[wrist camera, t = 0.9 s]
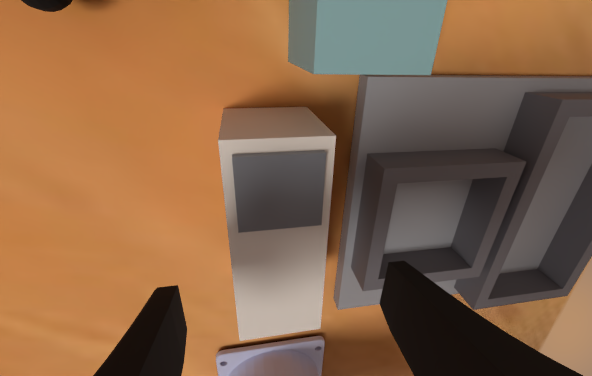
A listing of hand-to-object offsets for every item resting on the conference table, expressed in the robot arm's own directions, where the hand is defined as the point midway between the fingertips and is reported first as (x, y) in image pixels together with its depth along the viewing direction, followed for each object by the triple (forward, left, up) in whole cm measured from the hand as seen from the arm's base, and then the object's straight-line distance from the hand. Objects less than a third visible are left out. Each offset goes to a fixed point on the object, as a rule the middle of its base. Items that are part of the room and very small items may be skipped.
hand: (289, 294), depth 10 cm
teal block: (+9, -3, -7) cm, 12 cm away
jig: (-1, -13, -7) cm, 15 cm away
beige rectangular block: (0, 0, -7) cm, 7 cm away
